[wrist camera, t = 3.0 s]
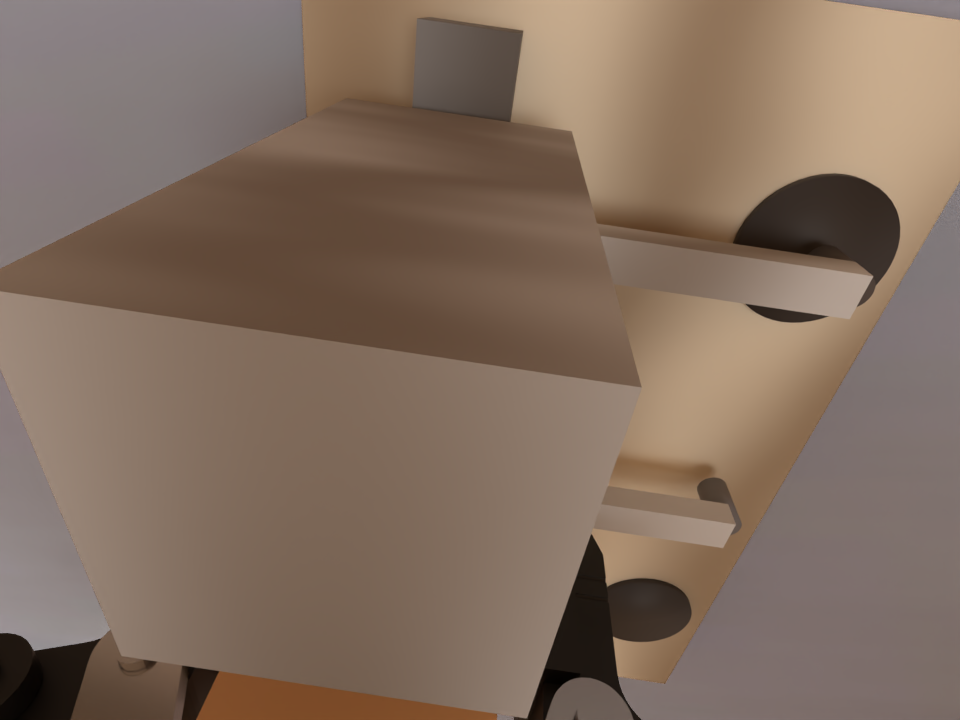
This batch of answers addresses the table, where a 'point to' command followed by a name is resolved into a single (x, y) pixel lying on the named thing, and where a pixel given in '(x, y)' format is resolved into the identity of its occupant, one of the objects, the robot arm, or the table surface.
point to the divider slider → (358, 716)
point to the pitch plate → (691, 181)
